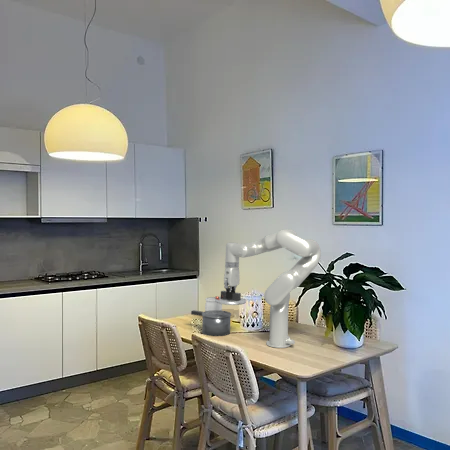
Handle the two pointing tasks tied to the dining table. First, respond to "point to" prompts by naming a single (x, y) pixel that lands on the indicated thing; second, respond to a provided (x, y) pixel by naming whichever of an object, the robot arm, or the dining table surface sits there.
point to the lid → (234, 301)
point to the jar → (212, 304)
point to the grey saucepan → (214, 322)
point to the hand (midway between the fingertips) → (230, 297)
